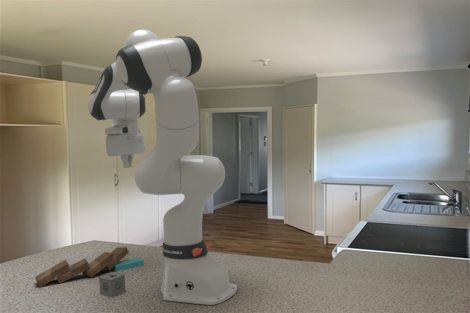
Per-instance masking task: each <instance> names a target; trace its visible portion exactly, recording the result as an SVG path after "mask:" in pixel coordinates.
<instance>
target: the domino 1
mask: <svg viewBox="0 0 470 313" xmlns="http://www.w3.org/2000/svg"><path fill="white" fill-rule="evenodd" d="M70 266H71V265H69V263H68V261H67V260H66V259H64V260H62V261H60V262H59V263H57V264H55V265H53V266H52V267H50V268H48V269H47V270H45V271H43V272H41V273H39V274H38V275H36V276H34V279H35V281H36V284H37V286H38V287H39V288H42V287H43V286H45V285H46V284H48V283H50V282H52V281H54V280H55V279H57V277H59V276H60V275H62V274H64V273H66V272H67V271H69V270H71V268H70Z"/></svg>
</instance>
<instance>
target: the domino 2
mask: <svg viewBox="0 0 470 313" xmlns="http://www.w3.org/2000/svg"><path fill="white" fill-rule="evenodd" d="M89 263H90V262H88V261H87V259H86V258H83V259H81V260H79V261H76V262H75V263H73V264H71V265H69V266H70V268H71V270H69V271H67V272H66V273H64V274H62V275H60V276H59V277H57V278H56V280H57V282H58V283H59V285H61V284H62V283H64V282H66V281H68V280H70V279H72V278H74V277H76V276H78V275H79V274H82V272H84V271H86V270H88V269H89V268H90V266H89Z"/></svg>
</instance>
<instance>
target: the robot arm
mask: <svg viewBox="0 0 470 313" xmlns="http://www.w3.org/2000/svg"><path fill="white" fill-rule="evenodd" d="M202 56H203V55H202V51H201V48H200V46H199V44H198V43H197V41H196V40H194V38H192V37H190V36H186V35H176V36H173V37H164V38H159V36H158V35H157V33H154V32H153V31H152V30H149V29H145V28H142V29H136V30H133V31H132V32H131V33H130V34H129V35H128V37H127V38H126V40H125V42H124V45H123V47H122V48H120V49H119V50H118V51H117V54H116V56H115V62H113V63H111V64H110V65H108V66H106V67H105V68H104V69H103V71H102V73H101V76H100V77H99V79H98V81H97V84H96V85H95V87H94V89H93V90H92V92H91V93H90V94H89V97H88V100H87V108H88V112H89V114H90V116H92V117H93V118H94V119H95V120H97V121H105V120H106V121H107V120H112V124H111V125H109V126H108V127H106V128H105V129H104V134H105V135H106V137H105V149H106V155H107V156H108V157H120V160H121V162H122V163H123V165H122V166H123V168H124V169H127V168H132V167H133V160H134V155H139V154H144V153H145V141H144V140H145V139H144V136H143V134H142V132H141V130H139V119H138V118H141V117H143V116H144V114H145V113H146V111H147V110H146V97H145V96H146V95H147V94H148V93H149V91H150V92H151V94H152V95H153V98H154V103H155V104H154V105H155V124H156V142H155V146H154V148H153V149H152V151H151V152H150V153H149V155H147V156H146V157H144V158H142V159H141V161H139V162H138V163H137V165H136V167H135V171H134V182H135V185H136V187H137V189H138V190H139V191H140V192H141V193H143V194H147V195H148V194H149V195H156V196H166V195H169V196H170V195H184V199H183V200H181V202H180V203H179V204H176V205H174V206H173V207H171V208H169V209H168V210H167V211H166V212H165V214H164V216H163V219H162V221H163V223H162V224H163V242H162V255H163V256H164V264H163V265H164V267H163V274H162V276H163V277H162V283H161V287H160V293H161V294H162V300H163V301H170V302H177V303H178V302H179V303H188V304H194V305H195V304H197V305H207V306H214V305H219V304H221V303H223V302H225V301H227V300H228V299H230V298H232V296H234V295H235V294H237V291H238V285H237V284H235V283H232V282H230V279H229V273H228V270H227V268H226V267H224V265H223V264H222V263H220V262H219V261H218V260H217V259H215V258H214V257H213V256H212V255H211V254H210V253H209V250H208V249H209V248H211V247H212V245H211V243H210V242H209V243H208V244H206V243H205V240H204V239H203V216H204V212H205V208H206V205H207V203H208V202H209V200H210V198H211V197H212V196H213V195H214V194H215V193H216V192H217V191H218V190H219V189H220V188H221V187H222V186H223V184H224V182H225V178H226V169H225V165H224V164H223V162H222V161H221V159H219V158H218V157H217V156H212V155H205V154H195V155H193V154H192V155H188V154H190V153H191V152H192V151H194V150H195V148H196V147H197V145H198V144H199V140H200V122H199V120H200V118H199V116H200V115H199V104H198V97H197V93H196V89H195V86H194V84H193V83H192V81H190V80H189V79H188V78H189V77H191V76H193V75H195V74H197V72H199V71H200V70H201V66H202V63H203V57H202Z"/></svg>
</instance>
